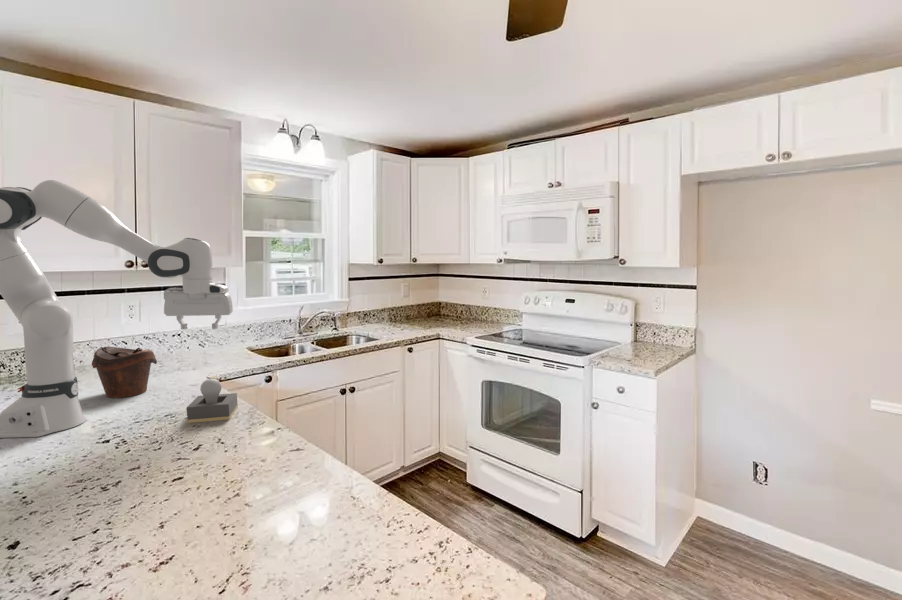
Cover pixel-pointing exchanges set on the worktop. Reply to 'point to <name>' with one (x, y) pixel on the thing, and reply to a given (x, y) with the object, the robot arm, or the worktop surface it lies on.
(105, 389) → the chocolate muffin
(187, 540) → the worktop surface
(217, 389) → the lightbulb
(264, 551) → the worktop surface
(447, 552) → the worktop surface
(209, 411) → the socket block
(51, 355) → the robot arm
